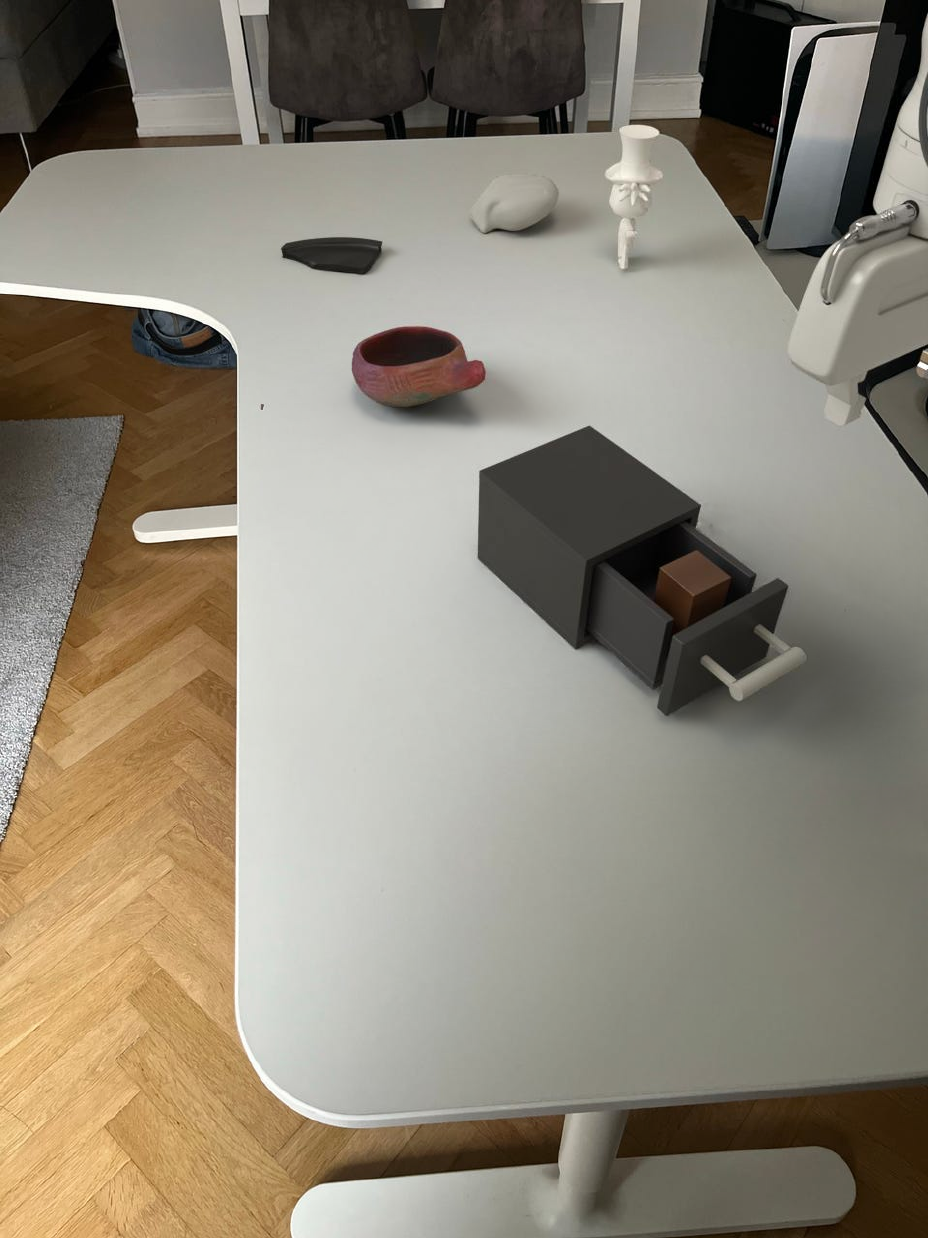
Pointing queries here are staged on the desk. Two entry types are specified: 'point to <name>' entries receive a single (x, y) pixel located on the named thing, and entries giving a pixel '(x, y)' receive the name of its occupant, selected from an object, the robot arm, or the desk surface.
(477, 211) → the shell shaped sculpture
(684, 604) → the walnut block
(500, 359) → the desk surface
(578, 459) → the drawer cabinet
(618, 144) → the desk surface
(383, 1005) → the desk surface
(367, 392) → the bowl
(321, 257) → the curved wedge
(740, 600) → the drawer
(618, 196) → the figurine
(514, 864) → the desk surface
